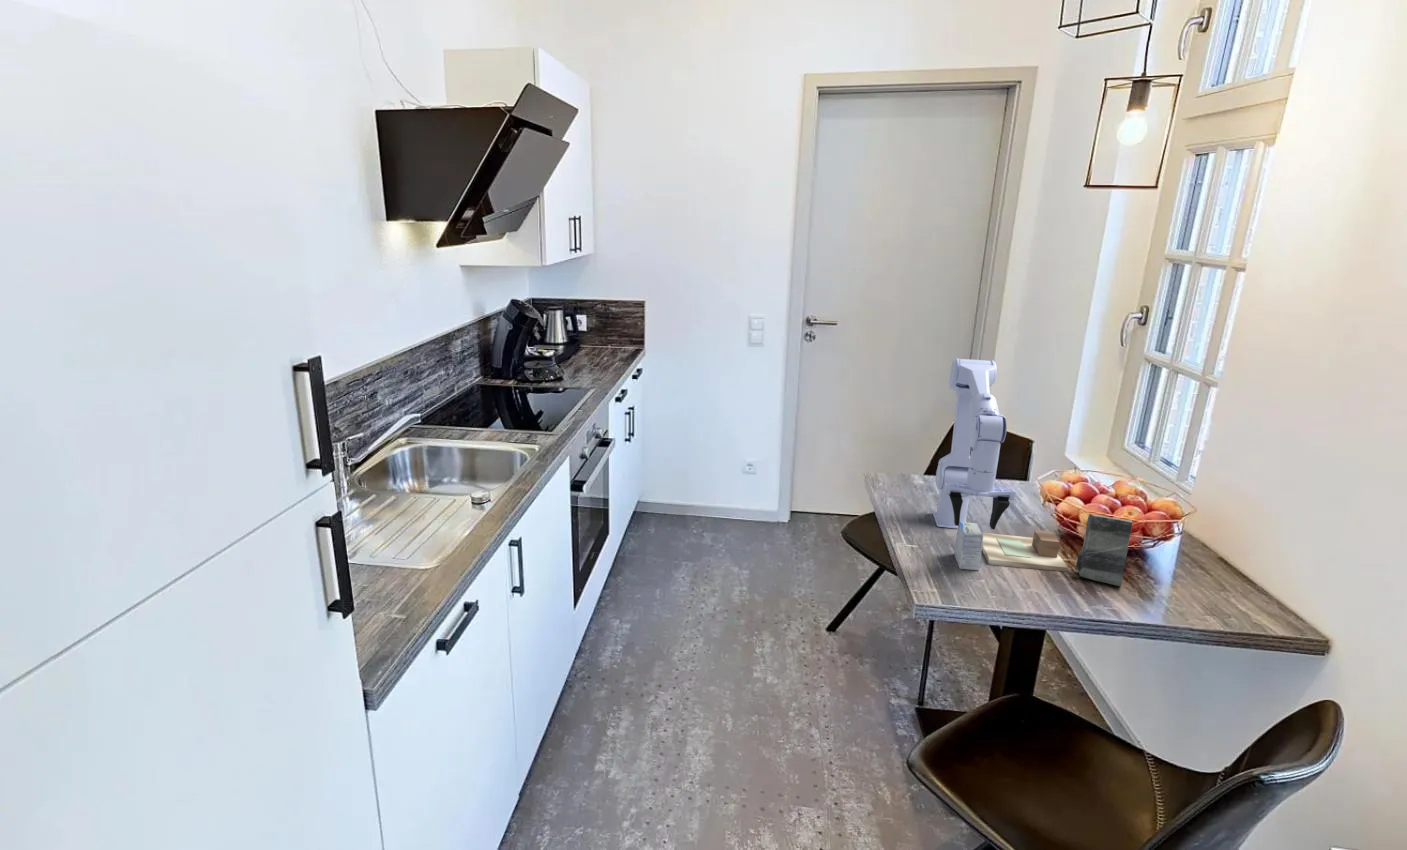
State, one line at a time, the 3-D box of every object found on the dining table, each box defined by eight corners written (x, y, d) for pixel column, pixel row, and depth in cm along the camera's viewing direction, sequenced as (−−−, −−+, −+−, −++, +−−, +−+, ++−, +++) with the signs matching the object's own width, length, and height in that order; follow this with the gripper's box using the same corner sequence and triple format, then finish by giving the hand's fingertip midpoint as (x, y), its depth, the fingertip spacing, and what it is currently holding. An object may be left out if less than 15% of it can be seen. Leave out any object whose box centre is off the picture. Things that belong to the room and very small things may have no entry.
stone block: (1075, 573, 157) (1074, 576, 153) (1086, 511, 157) (1086, 512, 153) (1120, 584, 153) (1120, 587, 148) (1132, 520, 153) (1133, 521, 148)
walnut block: (1031, 545, 168) (1034, 530, 167) (1049, 547, 167) (1052, 531, 166) (1038, 555, 162) (1041, 540, 161) (1056, 557, 161) (1059, 542, 160)
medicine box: (979, 571, 157) (984, 536, 154) (958, 569, 157) (963, 534, 155) (973, 556, 164) (978, 522, 162) (953, 554, 165) (958, 520, 163)
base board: (975, 537, 175) (976, 531, 175) (1046, 544, 172) (1047, 538, 172) (988, 565, 160) (989, 558, 159) (1067, 573, 157) (1068, 566, 156)
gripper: (951, 471, 149) (943, 529, 153) (1022, 477, 147) (1012, 536, 150) (946, 461, 156) (938, 517, 160) (1014, 467, 154) (1005, 523, 157)
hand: (974, 525), depth 155 cm, fingers open, 7 cm apart
